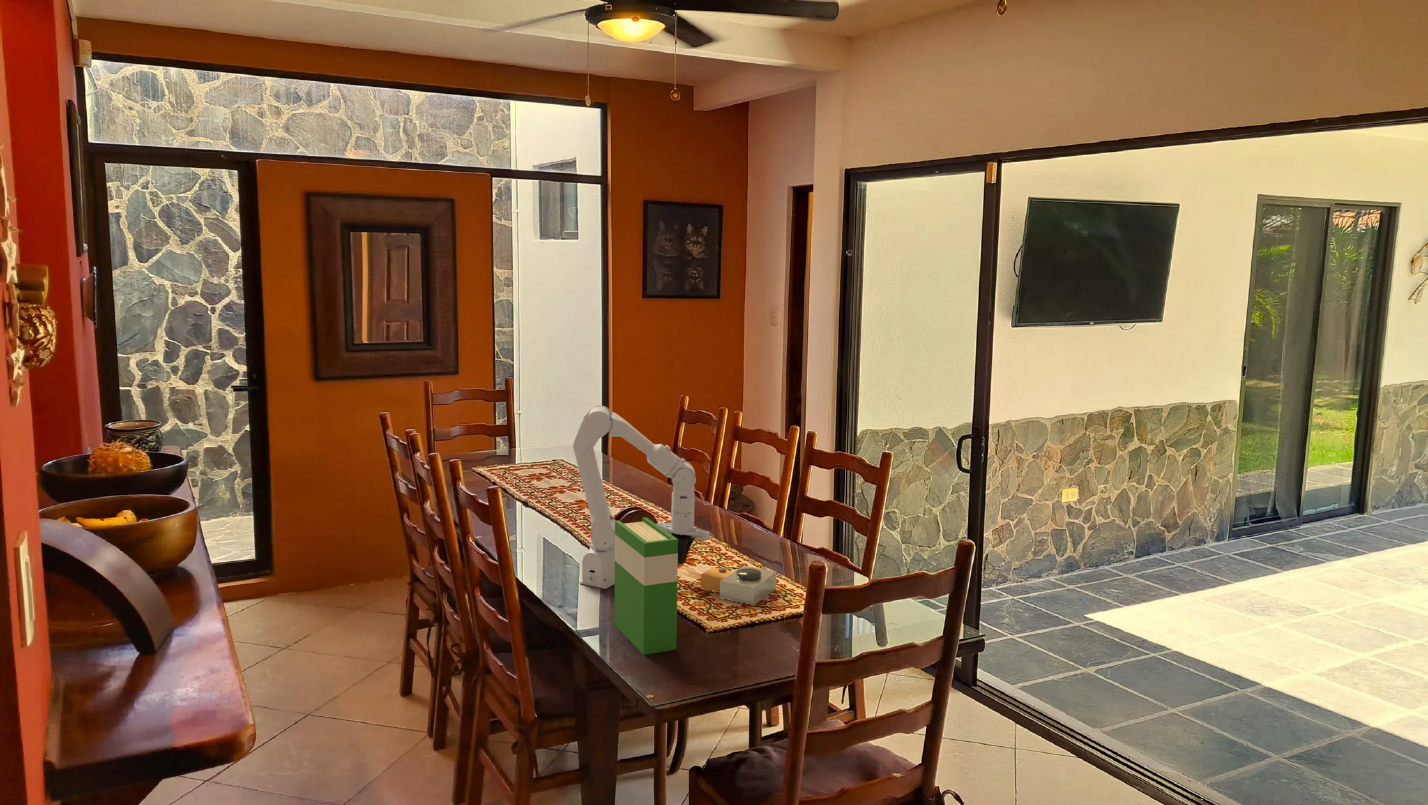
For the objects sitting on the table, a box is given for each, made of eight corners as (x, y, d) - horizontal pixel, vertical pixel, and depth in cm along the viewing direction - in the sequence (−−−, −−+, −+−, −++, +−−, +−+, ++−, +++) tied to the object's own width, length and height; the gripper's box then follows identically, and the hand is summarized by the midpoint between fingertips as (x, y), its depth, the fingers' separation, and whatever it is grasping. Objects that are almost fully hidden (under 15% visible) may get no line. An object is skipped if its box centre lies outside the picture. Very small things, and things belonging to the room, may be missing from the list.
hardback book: (614, 624, 216) (614, 520, 212) (645, 620, 219) (646, 517, 215) (643, 655, 200) (644, 543, 196) (676, 649, 203) (678, 539, 199)
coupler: (753, 605, 229) (754, 583, 228) (697, 594, 236) (698, 572, 235) (775, 589, 240) (776, 568, 239) (722, 578, 247) (722, 558, 246)
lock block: (726, 594, 236) (726, 576, 235) (701, 589, 239) (701, 571, 239) (737, 587, 241) (737, 569, 241) (712, 582, 245) (712, 565, 244)
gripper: (715, 511, 243) (714, 563, 245) (666, 503, 249) (664, 554, 251) (702, 518, 236) (700, 571, 238) (651, 509, 243) (650, 561, 245)
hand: (681, 563), depth 244 cm, fingers closed
